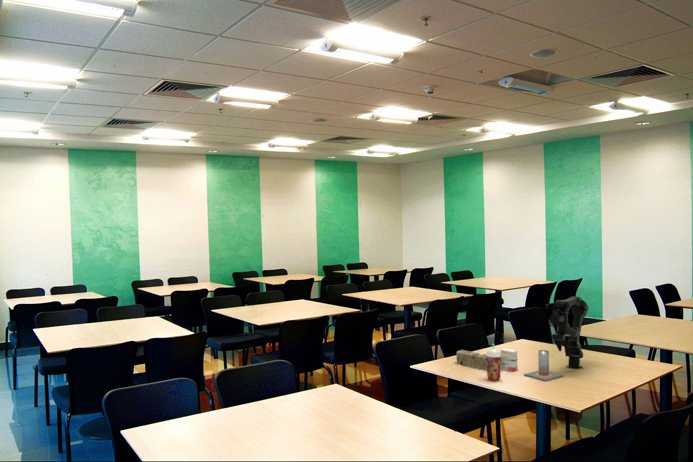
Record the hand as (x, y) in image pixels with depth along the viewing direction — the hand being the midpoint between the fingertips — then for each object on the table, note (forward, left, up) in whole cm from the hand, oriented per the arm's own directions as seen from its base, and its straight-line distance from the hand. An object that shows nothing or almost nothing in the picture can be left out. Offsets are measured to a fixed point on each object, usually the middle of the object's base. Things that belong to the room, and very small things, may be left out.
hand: (562, 349), depth 302 cm
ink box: (+21, -21, -13) cm, 32 cm away
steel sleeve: (+16, -1, -12) cm, 20 cm away
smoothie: (+44, -12, -13) cm, 47 cm away
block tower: (+30, -37, -14) cm, 49 cm away
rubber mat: (+16, -1, -13) cm, 21 cm away
